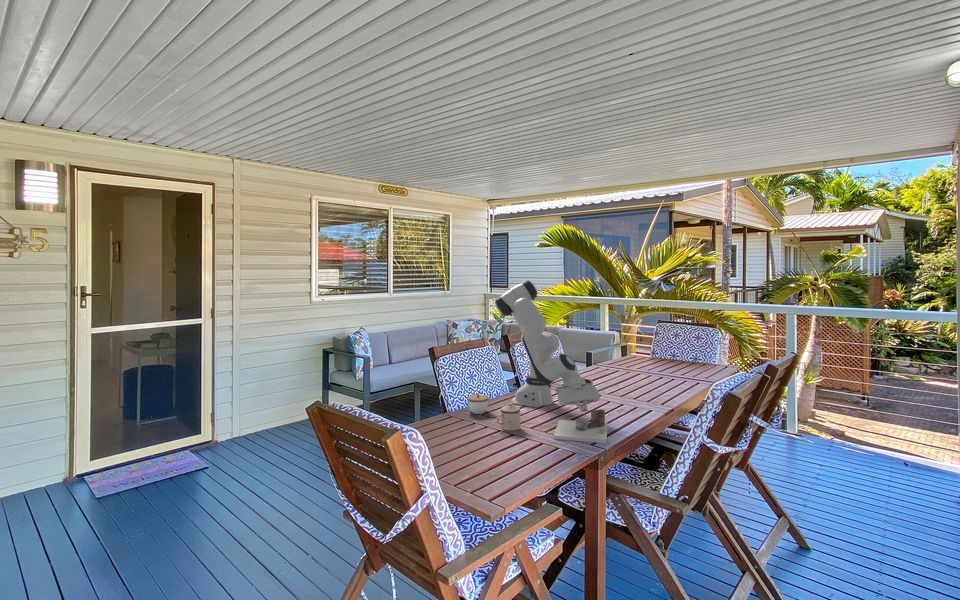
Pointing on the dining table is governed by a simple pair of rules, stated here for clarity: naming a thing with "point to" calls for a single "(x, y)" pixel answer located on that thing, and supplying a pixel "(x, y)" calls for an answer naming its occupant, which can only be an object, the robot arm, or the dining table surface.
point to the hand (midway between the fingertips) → (584, 411)
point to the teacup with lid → (509, 417)
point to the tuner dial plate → (580, 432)
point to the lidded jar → (478, 403)
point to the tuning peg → (592, 420)
